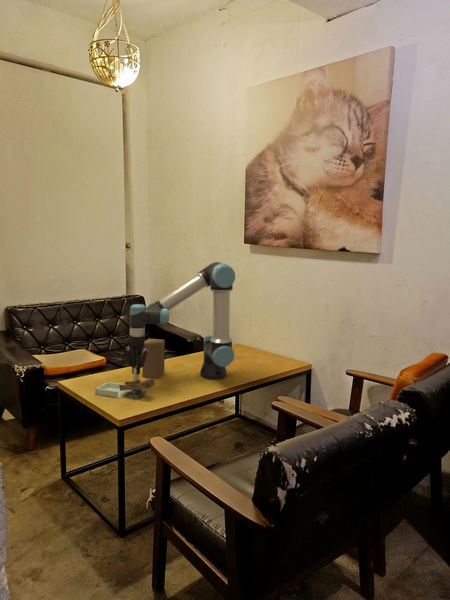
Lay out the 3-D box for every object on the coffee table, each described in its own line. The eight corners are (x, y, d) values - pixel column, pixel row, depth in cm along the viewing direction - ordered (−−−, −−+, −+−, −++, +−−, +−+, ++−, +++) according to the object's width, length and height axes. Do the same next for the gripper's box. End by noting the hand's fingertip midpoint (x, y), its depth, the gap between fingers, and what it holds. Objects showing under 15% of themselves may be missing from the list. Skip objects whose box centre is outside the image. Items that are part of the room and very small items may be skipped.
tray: (131, 391, 230) (131, 385, 230) (120, 398, 220) (120, 392, 219) (107, 387, 234) (107, 381, 234) (95, 394, 224) (95, 388, 223)
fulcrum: (145, 394, 226) (145, 386, 225) (138, 399, 219) (138, 391, 218) (136, 393, 227) (136, 385, 226) (129, 398, 220) (129, 390, 220)
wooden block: (158, 379, 249) (159, 343, 246) (141, 377, 251) (141, 342, 248) (164, 373, 259) (165, 339, 256) (148, 372, 261) (148, 338, 258)
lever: (161, 379, 230) (160, 373, 230) (148, 388, 217) (147, 381, 216) (134, 381, 235) (133, 375, 235) (119, 391, 222) (118, 384, 221)
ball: (149, 378, 222) (142, 375, 223) (145, 380, 218) (138, 378, 219) (147, 384, 222) (141, 382, 223) (144, 387, 219) (137, 384, 220)
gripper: (152, 335, 230) (150, 379, 234) (129, 332, 234) (128, 376, 238) (145, 338, 223) (143, 384, 227) (121, 335, 227) (120, 380, 231)
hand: (135, 380), depth 232 cm, fingers closed
